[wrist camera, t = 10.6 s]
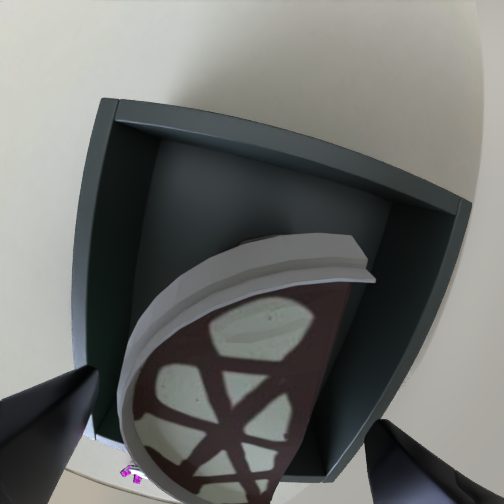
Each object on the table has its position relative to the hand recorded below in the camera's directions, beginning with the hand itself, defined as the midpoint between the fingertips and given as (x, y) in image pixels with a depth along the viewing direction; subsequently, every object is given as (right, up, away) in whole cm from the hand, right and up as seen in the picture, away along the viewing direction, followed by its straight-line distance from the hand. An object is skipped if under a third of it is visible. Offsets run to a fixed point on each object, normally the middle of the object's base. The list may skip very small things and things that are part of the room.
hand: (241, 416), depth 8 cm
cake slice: (-1, +2, +9) cm, 9 cm away
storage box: (0, +2, +9) cm, 10 cm away
